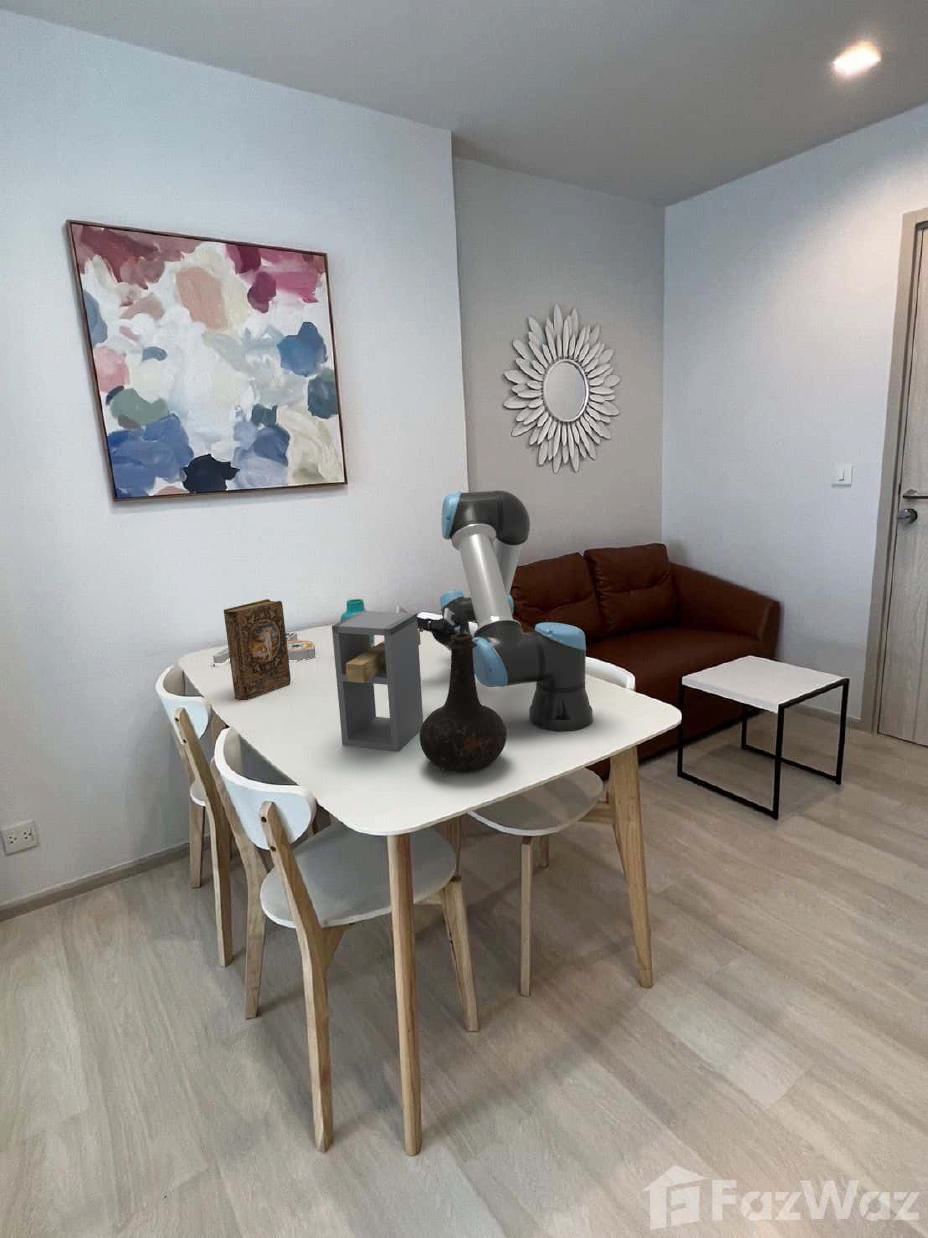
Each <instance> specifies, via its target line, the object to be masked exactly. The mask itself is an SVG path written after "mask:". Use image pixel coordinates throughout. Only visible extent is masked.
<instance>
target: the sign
mask: <svg viewBox="0 0 928 1238" xmlns="http://www.w3.org/2000/svg"><path fill="white" fill-rule="evenodd" d="M285 632H286V641H287V650H288V658H289V660H303V659H308V658H309V659H312V658H315V659H316V656H315V654H316V644H315V643H314V641H312V640H306V639H305V640H304V639H302V640H299V639H298V632H287V631H285ZM316 655H317V654H316ZM212 657H213V658H212V659H213V664H214V663H223V662H225V661H226V660H227V659H229V658H230V656H229V648H228V647H226V648H224V649H222V650H221V651H218V652H216V653H215V654H213V655H212ZM309 659H308V660H309Z"/></svg>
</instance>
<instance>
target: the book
mask: <svg viewBox="0 0 928 1238" xmlns="http://www.w3.org/2000/svg"><path fill="white" fill-rule="evenodd" d="M284 614H285V613H284V607H283V602H282V600H277V601H272V600H270V599H269V598H267V599H262V600H259V601H255V602H250V603H246V604H241V605H237V606H233V607H229V608H225V609H223V616H224V623H225V630H226V631H225V632H226V640H227V648H229V656H230V662H229V663H230V669H231V677H232V678H231V679H232V686H233V687H232V688H233V692H234V693H233V694H234V699H235V700H236V699H239V700H248V699H250V700H253V699H255V698H258V697H261V696H263V695H265V694H268V692H269V693H270V692H273V690H274V691H276V690H275V689H277V690H279V689H281V688H283V687H286V686H288V685H290V684H291V677H292V676H291V667H290V662H289V658H288V650H287V641H286V632H287V631H286V626H285V624H286V623H285V615H284ZM262 694H263V695H262ZM260 695H261V696H260ZM257 696H258V697H257ZM252 698H253V699H252ZM239 700H238V701H239ZM248 701H249V700H248Z"/></svg>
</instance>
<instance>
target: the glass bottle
mask: <svg viewBox="0 0 928 1238" xmlns="http://www.w3.org/2000/svg"><path fill="white" fill-rule="evenodd" d="M473 637H474V635H472V634H466V633H462V634H457V635H452V636H451V637H450V638H451V642H449V643H448V647H449V648H451V651H450V672H449V673H450V674H449V675H450V676H449V686H448V691H447V695H446V700H445V702H444V704H443V706H441V707H438V708H436V709H435V710H434V711H432V712H431V713H429V714H428V715H427V716H426V717H425V719H424V720H423V724H422V727H421V730H420V731H419V743H420V748H421V751H422V752H423V754H424V755H425V757H426V759H427V760H428V761H429V762H430V763H431V764H433V765H434V766H435V767H437V768H439V769H441V770H443V771H446V772H451V773H457V774H459V773H460V774H470V773H477V772H479V771H482V770H484V769H486V768H488V767H489V766H491V765H492V764H493V763H494V762H495V761H496V760H497V759H498V757H500V755H501V753H502V752H503V750H504V748H505V746H506V742H507V735H508V734H507V733H508V732H507V726H506V724H505V722H504V721H503V719H502V717H501V716H500V715H499V714H498V713H497V712H496V711H495V710H494V709H492V708H491V707H488V706H487V705H484V704H482V703H481V701H480V698H479V694H478V689H477V685H476V684H477V683H476V675H475V673H474V661H473V648H474V647H476V646H477V644H476V643H475V642H473V641H472V638H473Z"/></svg>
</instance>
